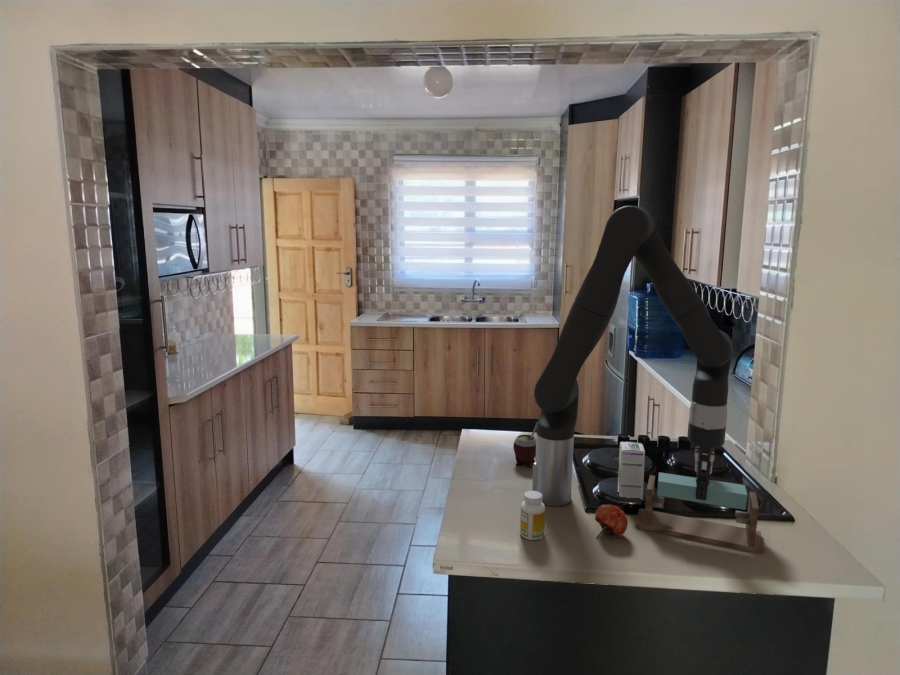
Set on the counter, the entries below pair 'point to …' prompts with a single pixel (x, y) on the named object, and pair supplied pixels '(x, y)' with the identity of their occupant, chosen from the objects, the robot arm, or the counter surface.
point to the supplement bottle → (532, 516)
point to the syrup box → (631, 470)
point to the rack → (702, 524)
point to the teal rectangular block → (716, 491)
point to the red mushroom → (611, 519)
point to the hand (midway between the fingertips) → (700, 493)
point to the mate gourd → (525, 449)
